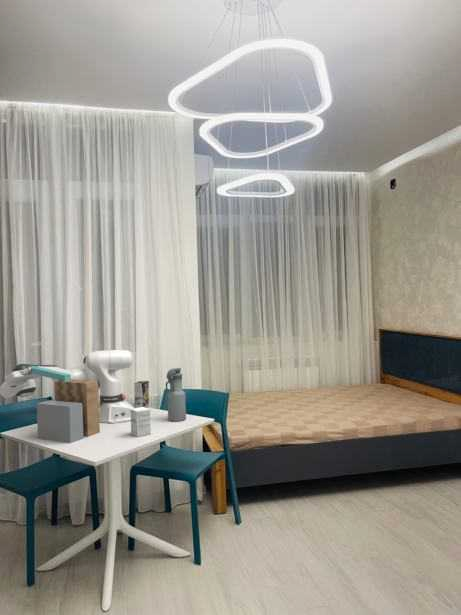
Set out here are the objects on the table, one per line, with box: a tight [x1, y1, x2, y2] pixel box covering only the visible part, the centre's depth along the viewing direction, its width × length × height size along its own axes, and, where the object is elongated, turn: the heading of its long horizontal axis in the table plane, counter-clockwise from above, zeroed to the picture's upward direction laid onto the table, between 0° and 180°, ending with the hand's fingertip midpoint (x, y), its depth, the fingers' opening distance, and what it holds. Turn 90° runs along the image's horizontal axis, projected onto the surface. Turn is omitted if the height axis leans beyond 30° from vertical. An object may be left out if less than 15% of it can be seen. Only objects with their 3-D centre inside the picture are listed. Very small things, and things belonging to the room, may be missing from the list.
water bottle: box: [165, 367, 187, 423], centre depth 252 cm, size 10×10×28 cm
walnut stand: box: [53, 379, 101, 438], centre depth 232 cm, size 22×8×26 cm, turn 63°
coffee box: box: [133, 380, 150, 408], centre depth 287 cm, size 9×6×16 cm
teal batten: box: [27, 366, 71, 381], centre depth 241 cm, size 28×4×3 cm, turn 63°
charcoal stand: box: [36, 400, 84, 444], centre depth 222 cm, size 22×8×17 cm, turn 63°
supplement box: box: [130, 407, 152, 438], centre depth 224 cm, size 7×7×13 cm
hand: (34, 367), depth 246 cm, fingers closed on teal batten, 4 cm apart
